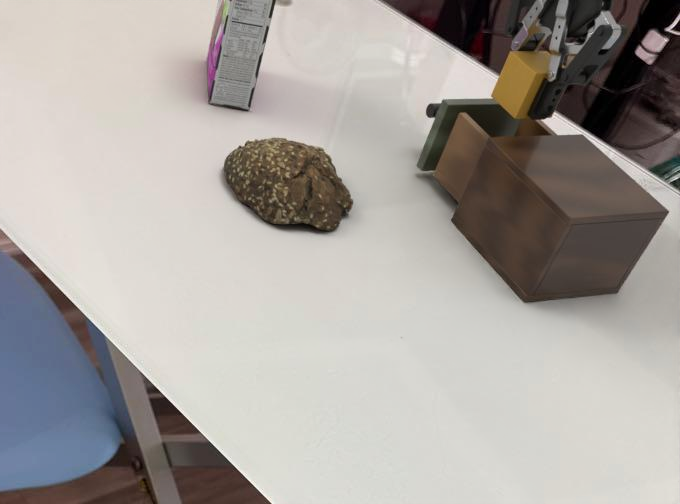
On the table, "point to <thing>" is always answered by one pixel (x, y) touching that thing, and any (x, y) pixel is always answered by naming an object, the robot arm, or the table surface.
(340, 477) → the table surface
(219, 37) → the candy bar box
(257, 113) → the table surface
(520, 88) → the block
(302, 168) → the bread roll
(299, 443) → the table surface
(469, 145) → the drawer
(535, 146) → the cabinet
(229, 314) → the table surface
